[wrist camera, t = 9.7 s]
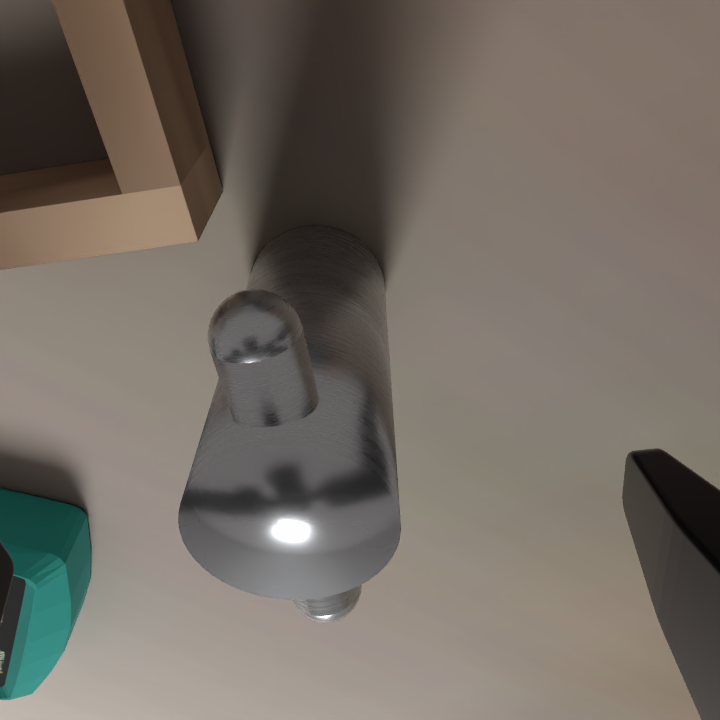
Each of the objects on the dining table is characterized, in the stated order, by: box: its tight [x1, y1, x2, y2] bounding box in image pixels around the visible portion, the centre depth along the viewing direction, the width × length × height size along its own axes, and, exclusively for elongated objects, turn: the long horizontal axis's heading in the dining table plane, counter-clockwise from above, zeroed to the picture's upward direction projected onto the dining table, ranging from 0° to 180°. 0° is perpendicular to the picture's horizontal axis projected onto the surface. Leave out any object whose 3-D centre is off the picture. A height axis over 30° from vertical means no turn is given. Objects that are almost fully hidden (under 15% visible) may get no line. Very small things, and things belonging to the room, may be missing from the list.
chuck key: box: [178, 226, 401, 623], centre depth 12 cm, size 3×6×7 cm, turn 9°
